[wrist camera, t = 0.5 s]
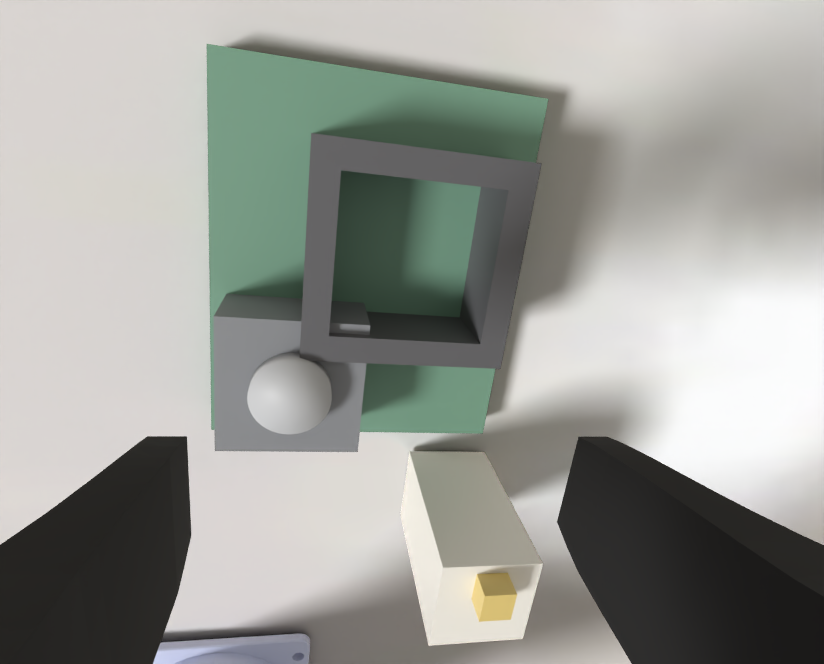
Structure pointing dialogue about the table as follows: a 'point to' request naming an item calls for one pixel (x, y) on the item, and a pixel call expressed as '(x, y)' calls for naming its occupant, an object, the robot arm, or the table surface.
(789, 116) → the table surface
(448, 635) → the plug
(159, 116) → the table surface
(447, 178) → the board
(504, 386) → the table surface
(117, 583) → the robot arm
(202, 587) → the table surface
